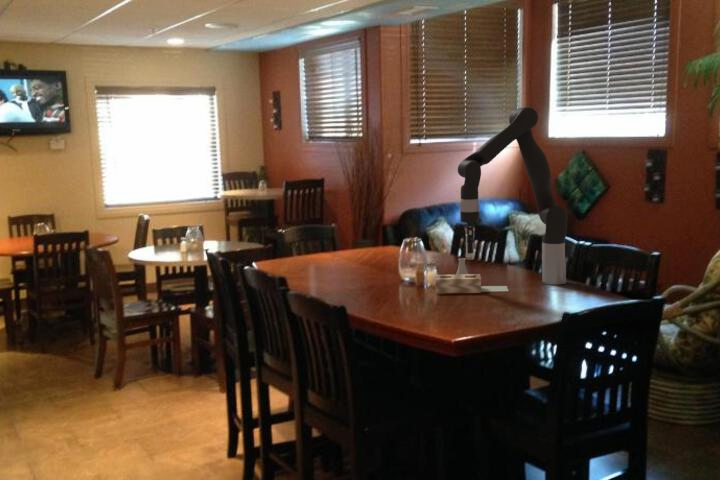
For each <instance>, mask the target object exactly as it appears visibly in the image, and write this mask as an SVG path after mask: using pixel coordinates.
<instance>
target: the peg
mask: <svg viewBox="0 0 720 480" xmlns="http://www.w3.org/2000/svg"><path fill="white" fill-rule="evenodd" d="M468 240H472V238H469V239H468ZM474 240H475V237H474V238H473V241H474ZM474 242H475V241H474ZM474 248H475V247H474V243H473V253H468V252H467V238H466V237H465V251H466V252H465V257H466V258H465V259H466V260H468V261H469V260H471V261H472V260H474V259H475V258H474V255H475V254H474V253H475V252H474V250H475V249H474Z"/></svg>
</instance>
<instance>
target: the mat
mask: <svg viewBox="0 0 720 480" xmlns="http://www.w3.org/2000/svg"><path fill="white" fill-rule="evenodd" d="M482 292H486V293H487V292H489V293H490V292H509V289H508V286H507V285H483V286H482V285H481V293H482Z"/></svg>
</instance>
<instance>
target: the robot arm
mask: <svg viewBox="0 0 720 480" xmlns="http://www.w3.org/2000/svg"><path fill="white" fill-rule="evenodd" d="M508 118H509V119H508V121H509V124H508V126H506V127H505V128H503V129H502V130H501V131H499V132H498V133H497V134H495V135H493V136H492V137H490V138H489V139H488V140H486V141H485V142H484V143H483V144H482V145H481V146H480V147H478V149H477V150H476V151H474V152H472V153H471V154H470V155H468V156H467V157H464V158H463V160H462V161H460V163H458V167H457V173H458V175H459V176H460V177H462V178H464V183H463V184H462V185H461V186H460V204H459V211H460V212H459V213H460V214H459V217H460V218H459V219H460V220H459V221H460V222H461V223H464V224H465V223H466V225H465V226H464V231H465V239H466V238H467V252H468V253H473V243H474V242H475V241H473V238H474V239H475V231H476V227H475V225H473V224H474V223H479V221H480V205H479V204H480V202H479V187H480V182H481V178H482V177H481V176H482V168H481V167H483V166H485V165H488V164H489V163H490V162H492V161H493V160H494V159H495V158H496V157H497V156H498V155H499V154H501V152H503V151H504V150H505V149H506V148H507V147H508V146H509V145H511V143H513V142H514V141H515V140H516V142H517V144H518V148H519V151H520V154H521V158H522V160H523V163H524V167H525V171H526V173H527V177H528V179H529V182H530V185H531V188H532V191H533V194H534V197H535V201H536V207H537V211H538V212H537V213H538V217H539V219H540V220H541V222H542V224H544V225H545V232H544V234H543V235H542V237H541V261H542V262H541V264H542V265H541V266H542V267H541V268H542V269H541V271H542V273H541V279H542V280H541V283H542V284H544V285H551V286H552V285H555V286H556V285H557V286H558V285H564V284H565V285H566V284H567V277H566V276H567V267H566V265H567V262H566V252H565V251H566V238H567V233H568V213H567V210H566V208H565V207H563V206H562V205H560V204H559V205H558V204H557V203H556V200H555V197H554V195H553V193H552V173H551V172H552V171H551V168H550V165H549V161H548V158H547V156H546V154H545V153H544V151H543V150H542V148H541V147H540V146H539V144H538V143H537V142H536V140H535V137H534V135H533V132H532V129H533V128H534V127H535V126H536V125H537V123H538V120H539V113H538V112H537V110H536V109H535V108H533V107H529V106H524V107H518V108H515V109H513V110H511V112H510V114H509V117H508ZM469 238H472V240H468V239H469Z"/></svg>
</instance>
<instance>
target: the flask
mask: <svg viewBox="0 0 720 480" xmlns="http://www.w3.org/2000/svg"><path fill="white" fill-rule="evenodd" d="M466 260H467V259H466V258H465V257H464V258H463V257H461V258H458V267H457V271H456V274H469V273H468V269H467V266H466Z"/></svg>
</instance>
